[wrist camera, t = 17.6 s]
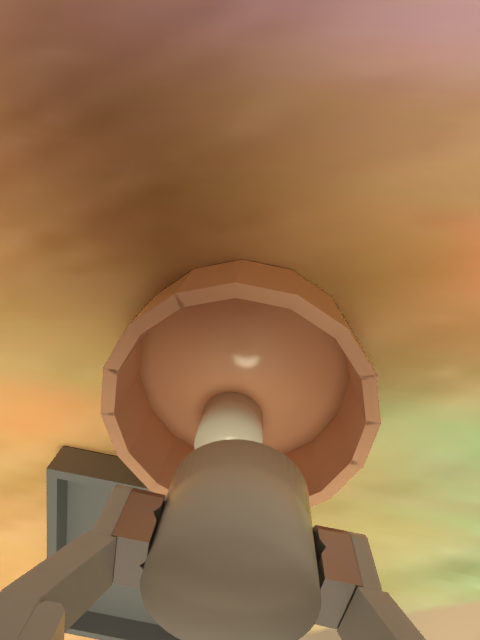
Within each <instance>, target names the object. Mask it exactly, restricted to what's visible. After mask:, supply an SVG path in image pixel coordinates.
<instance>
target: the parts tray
mask: <svg viewBox="0 0 480 640" xmlns="http://www.w3.org/2000/svg"><path fill="white" fill-rule="evenodd" d="M117 484H119V485H123V486H128V487H132V488H137V489H142V490H146V491H150V490H149V489H148V488H147V487H146V486H145V485H144V484H143V483H142V482H141V481H140V480H139V478H138V477H137V476H136V475H135V474H134V473H133V472H132V471H131V470H130V469H129V468H128V467H127V466H126V465H125V464H124V463H123V461H122V460H121V459H120V458H119V457H116V456H111V455H106V454H101V453H96V452H91V451H87V450H82V449H77V448H72V447H67V446H63V447H62V449H61V450H60V451H59V453H58V454H57V455H56V457H55V458H54V459H53V461H52V462H51V463H50V464H49V466H48V467H47V558H48V557H50V556H51V555H53V554H54V553H56V552H57V551H58V550H60V549H61V548H63V547H64V546H66V545H67V544H69V543H70V542H71V541H73V540H74V539H76V538H77V537H79V536H80V535H81V534H83V533H84V532H86V531H89V532H92V530H93V528H94V526H95V524H96V522H97V520H98V518H99V516H100V514H101V512H102V510H103V508H104V506H105V504H106V502H107V500H108V498H109V496H110V494H111V492H112V490H113V488H114V487H115V486H116V485H117ZM150 492H152V491H150ZM65 633H68V634H73V635H79V636H84V637H89V638H94V639H99V640H180V639H178V638H176V637H174V636H173V635H171V634H170V633H168V632H167V631H166V630H164V629H163V628H162V627H161V626H160V625H159V624H158V623H157V622H156V621H155V620H154V619H153V618H152V617H151V615H150V614H149V613H148V611H147V609H146V607H145V605H144V603H143V600H142V598H141V593H140V588H136V587H130V586H124V585H118V584H112V586H111V587H110V588H109V589H108V590H107V591H106V592H105V593H104V594H103V595H102V596H101V597H100V598H99V599H98V600H97V601H96V602H95V603H94V604H93V605H92V606H91V607H90V608H89V609H88V610H87V611H86V612H85V613H84V614H83V615H82V616H81V617H80V618H79V619H78V620H77V621H76V622H75V623H74V624H73V625H72V626H71V627H70V628H69V629H68V630H67V631H66V632H65Z"/></svg>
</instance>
